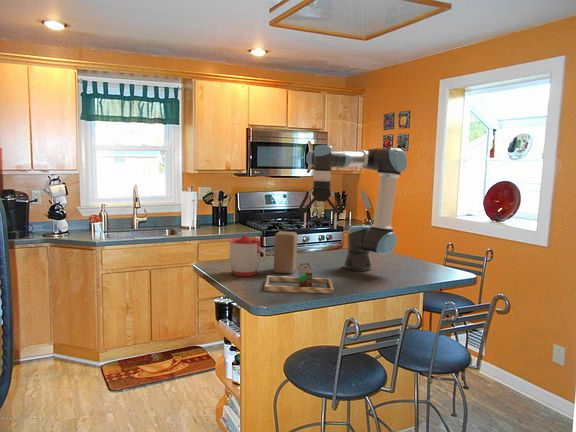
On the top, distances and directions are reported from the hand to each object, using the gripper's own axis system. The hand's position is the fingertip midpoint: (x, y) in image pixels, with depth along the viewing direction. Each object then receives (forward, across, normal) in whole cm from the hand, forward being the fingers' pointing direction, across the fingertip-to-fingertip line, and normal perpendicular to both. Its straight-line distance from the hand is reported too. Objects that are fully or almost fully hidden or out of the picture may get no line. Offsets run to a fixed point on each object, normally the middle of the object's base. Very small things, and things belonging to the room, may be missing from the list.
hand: (319, 228), depth 201 cm
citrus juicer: (+27, +34, -18) cm, 47 cm away
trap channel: (+27, +8, +1) cm, 28 cm away
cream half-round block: (+27, +6, +1) cm, 28 cm away
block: (+27, +15, -27) cm, 41 cm away
